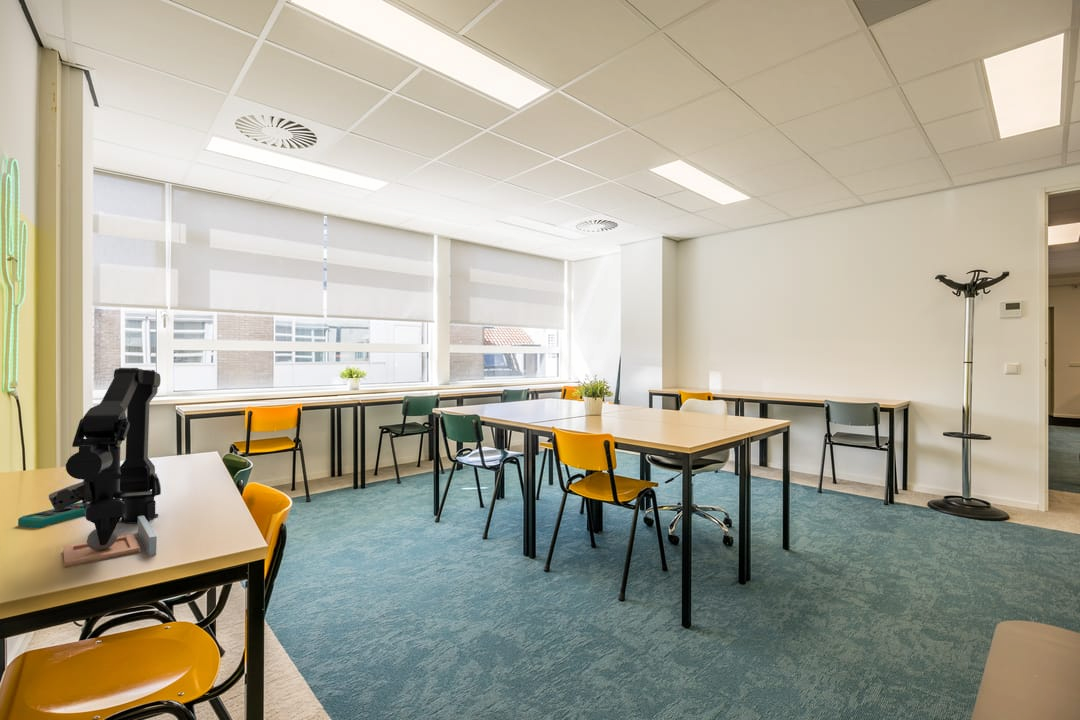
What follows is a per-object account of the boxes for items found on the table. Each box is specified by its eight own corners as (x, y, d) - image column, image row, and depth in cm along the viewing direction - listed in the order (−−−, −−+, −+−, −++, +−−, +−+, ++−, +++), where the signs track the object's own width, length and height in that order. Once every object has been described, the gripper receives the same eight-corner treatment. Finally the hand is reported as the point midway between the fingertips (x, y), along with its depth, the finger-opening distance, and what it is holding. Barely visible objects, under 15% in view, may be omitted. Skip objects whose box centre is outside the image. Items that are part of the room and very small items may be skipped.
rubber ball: (80, 553, 107) (80, 530, 107) (100, 545, 112) (101, 523, 112) (103, 554, 107) (103, 531, 107) (122, 545, 112) (123, 523, 112)
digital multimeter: (101, 512, 139) (102, 502, 139) (38, 530, 124) (39, 518, 124) (80, 511, 140) (80, 500, 140) (15, 528, 126) (16, 516, 126)
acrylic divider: (137, 532, 122) (137, 516, 122) (143, 531, 123) (143, 515, 123) (149, 556, 108) (149, 537, 108) (156, 554, 109) (156, 536, 109)
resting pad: (63, 551, 110) (63, 546, 110) (133, 538, 118) (133, 533, 118) (64, 567, 101) (64, 562, 101) (139, 552, 110) (140, 547, 110)
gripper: (51, 467, 111) (50, 538, 111) (52, 483, 98) (50, 562, 98) (117, 461, 119) (116, 526, 119) (126, 474, 105) (124, 548, 105)
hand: (102, 540), depth 110 cm, fingers open, 7 cm apart
